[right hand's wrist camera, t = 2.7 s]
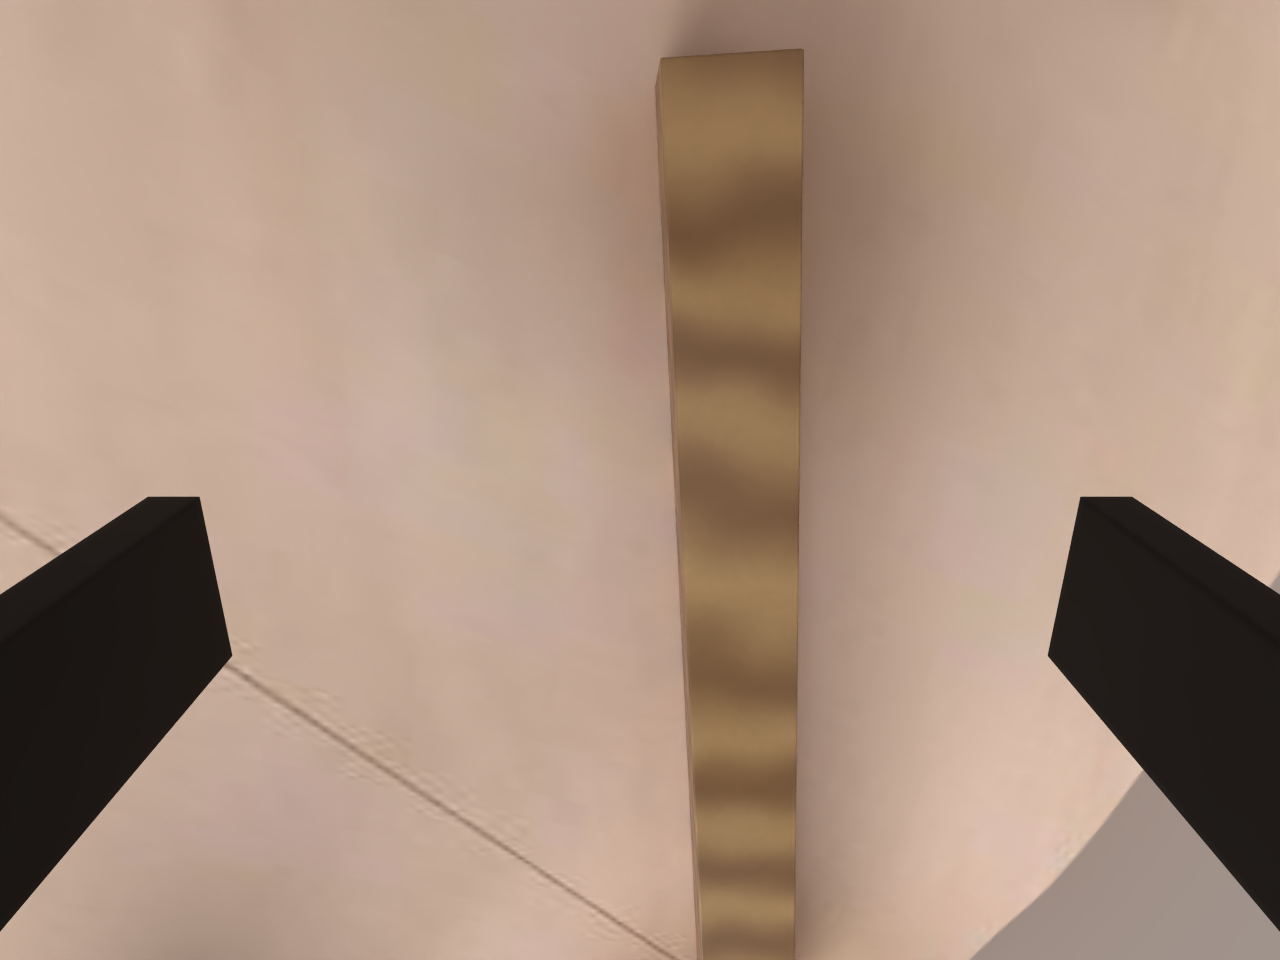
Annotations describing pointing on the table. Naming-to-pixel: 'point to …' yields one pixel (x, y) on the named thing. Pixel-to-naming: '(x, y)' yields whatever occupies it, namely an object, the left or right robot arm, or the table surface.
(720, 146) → the post
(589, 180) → the table surface
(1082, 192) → the table surface
